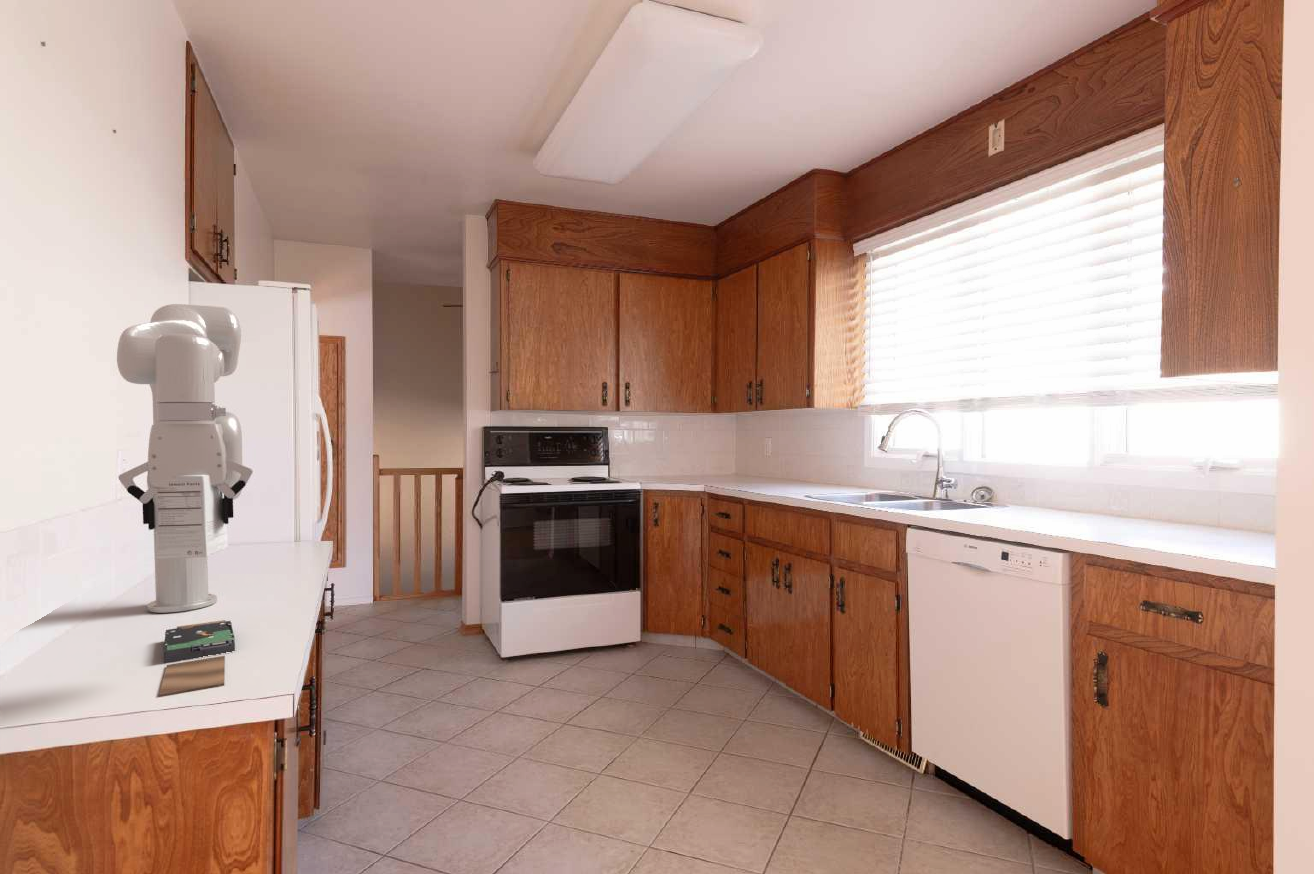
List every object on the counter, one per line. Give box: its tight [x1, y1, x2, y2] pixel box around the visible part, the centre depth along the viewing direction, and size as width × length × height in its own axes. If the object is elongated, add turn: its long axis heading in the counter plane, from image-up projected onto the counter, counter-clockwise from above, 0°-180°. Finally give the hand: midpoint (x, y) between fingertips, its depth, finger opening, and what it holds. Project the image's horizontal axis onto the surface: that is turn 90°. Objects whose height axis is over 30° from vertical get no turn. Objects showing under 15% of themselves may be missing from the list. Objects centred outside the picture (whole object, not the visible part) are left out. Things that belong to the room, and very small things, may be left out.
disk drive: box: [163, 620, 236, 664], centre depth 125 cm, size 10×3×15 cm
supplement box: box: [154, 475, 229, 559], centre depth 110 cm, size 7×7×13 cm
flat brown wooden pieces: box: [158, 619, 226, 697], centre depth 121 cm, size 41×8×1 cm, turn 31°
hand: (189, 525), depth 110 cm, fingers closed on supplement box, 9 cm apart
